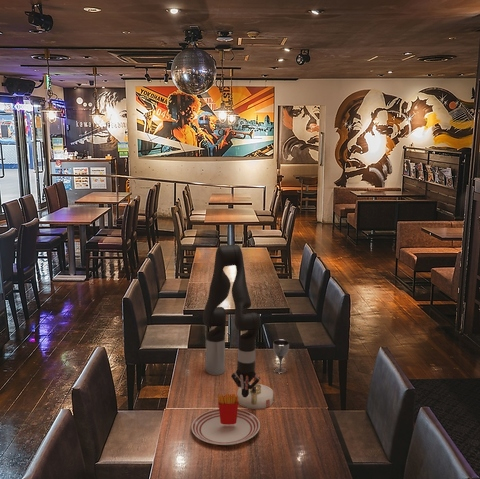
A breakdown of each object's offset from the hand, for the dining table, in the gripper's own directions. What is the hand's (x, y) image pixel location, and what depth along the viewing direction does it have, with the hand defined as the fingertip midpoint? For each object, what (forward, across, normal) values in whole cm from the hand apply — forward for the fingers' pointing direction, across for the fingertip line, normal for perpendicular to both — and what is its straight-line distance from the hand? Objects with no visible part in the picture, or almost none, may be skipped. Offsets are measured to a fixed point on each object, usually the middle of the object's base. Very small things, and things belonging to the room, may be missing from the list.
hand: (245, 396), depth 229 cm
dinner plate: (+7, +2, +18) cm, 19 cm away
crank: (+2, -3, -5) cm, 6 cm away
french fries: (+4, +2, +16) cm, 17 cm away
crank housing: (+7, -2, -10) cm, 12 cm away
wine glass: (+7, -4, -45) cm, 45 cm away
